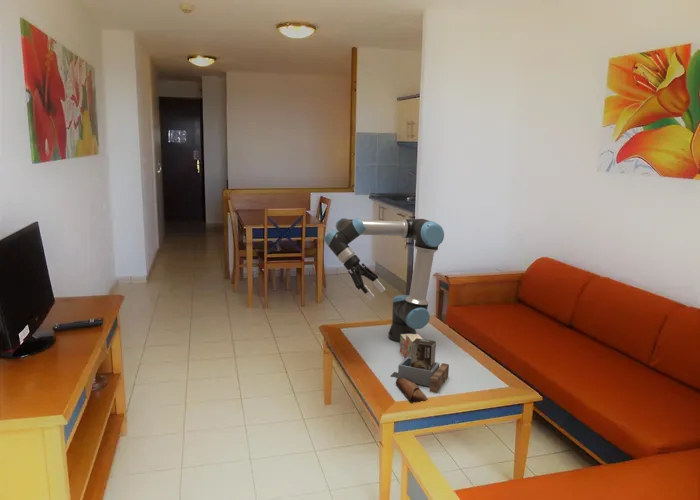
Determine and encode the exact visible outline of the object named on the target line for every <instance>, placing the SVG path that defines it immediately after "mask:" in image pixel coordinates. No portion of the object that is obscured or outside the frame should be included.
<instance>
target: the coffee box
mask: <svg viewBox="0 0 700 500" xmlns="http://www.w3.org/2000/svg"><path fill="white" fill-rule="evenodd" d="M436 345H437V342H436V341H435V340H430V339H424V338H423V339H418V338H416V339H415V340H414V341H413V342H412V355H411V367H415V368H420V369H425V370H430V371H431V370H432V368H433V367H434V366H435V362H436V348H437V347H436Z"/></svg>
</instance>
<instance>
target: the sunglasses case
mask: <svg viewBox="0 0 700 500" xmlns="http://www.w3.org/2000/svg"><path fill="white" fill-rule="evenodd" d="M395 384H396V386H397V387H398V389H400V390H401V392H403V394H404V395H405V397H406V398H407V399H408V401H409V402H411V404H413V402H415V403H420V402H421V401H423V402H427V401H426V400H428V401H429V399H428V398H427V395H425V393H424V392H423V391H422V390H421V388H420V387H419V385H418V384H415V383H414V382H410V381H408V380H406V379H404V378H396V381H395ZM421 403H422V402H421Z"/></svg>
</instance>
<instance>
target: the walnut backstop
mask: <svg viewBox="0 0 700 500" xmlns="http://www.w3.org/2000/svg"><path fill="white" fill-rule="evenodd" d="M449 370H450V364H449V363H445V362H443V363H441V364H439V368H438V369H437V370H436V372H435V373H434V374H433V375H432V376H431V378H430V387H429V392H431V393H436V394H437V393H438V392H439V390H440V389H441V388H442V386H443V385H444V384H445V383H446V381H447V380H448V378H449Z"/></svg>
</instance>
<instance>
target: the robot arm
mask: <svg viewBox="0 0 700 500" xmlns="http://www.w3.org/2000/svg"><path fill="white" fill-rule="evenodd" d="M362 235H363V236H389V237H391V236H393V237H394V236H395V237H401V238H403V239H409V240H410V239H411V240H414V241H415V242H414V248H415V249H416V253H415V258H414V260H415V261H414V264H413V272H412V278H411V284H410V287H409V289H410V290H409V293H408V294H399V295H394V296H393V299H392V314H391V315H392V317H391V318H392V319H391V320H392V321H391V325H390V328H389V330H388V335H387V336H388V337H387V338H388V339H390V340H391V341H393V342H398V343H400V334H418V333H417V330H420V329H424V327H426V326H427V325H428V324H429V322H430V317H431V315H430V311H428V309H429V302H428V300H427V296H428V288H429V284H430V277H431V273H432V266H433V261H434V256H435V255H434V254H435V253H436V252H437V251H439V246H440V245H441V244H442V243H443V241H444V239H445V231H444V229H443V227H442V226H441V225H440V224H439V223H438V222H435V221H432V220H427V219H425V218H411V219H409V218H408V219H407V218H406V219H405V218H404V219H402V220H375V219H373V220H372V219H360V218H359V217H356V218H355V219H348V218H346V217H345V218H340V219H338V220H337V221H336V223H335V229H333V230H331V231H329V232H327V234H326V235H325V236H324V237H323V241H324V242H325V244H326V245H327V246H328V248H329V249H330V250H331V251H332V252H333V254H334V255H335V256H336V257H337V258H338V260H339V261H340V263H341V264H343V266H344V267H345V269H346V270H347V273H348V274H349V275H350V277H351V279H352V282H353V283H354V285H355V288H356V289H358V290H359V291H360V290H361V291H362V292H363V294H364V295H365V296H366V297H367V298H368V300H369V301H370V300H372V299H373V298H374V297H375V295H374V293H373V292H371V289H369V288H368V286H367V285H366V284H364V281H363V276H364V277H365V278H367V279H368V280H370V281H371V282H372V284H373V285H374V286H375V288H376V289H377V291H378V292H380V294H383V292H384V291H386V287H384V285H383V284H382V283H381V282H380V280H379V279H378V278H379V276H378V274H376V273H375V272H373V271H372V270H371V269H370V268H369V267H367V265H366V264H365V263H361V264H360V262H361V259H360V258H359V257H358V256H357V254H355V252H354V251H353V249H352V248H351V247H350V246H349V244H350V243H352V242H353V241H355V240H356V239H357V238H358V237H359V236H362Z"/></svg>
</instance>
